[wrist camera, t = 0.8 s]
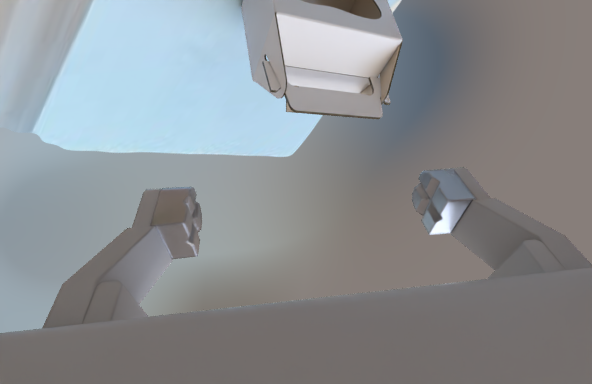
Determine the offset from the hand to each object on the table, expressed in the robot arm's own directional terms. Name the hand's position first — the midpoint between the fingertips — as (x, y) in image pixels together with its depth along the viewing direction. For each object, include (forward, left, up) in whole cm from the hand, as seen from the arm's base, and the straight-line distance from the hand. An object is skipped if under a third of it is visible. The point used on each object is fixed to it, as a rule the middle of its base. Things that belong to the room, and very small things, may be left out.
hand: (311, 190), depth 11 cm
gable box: (+30, -4, -50) cm, 58 cm away
